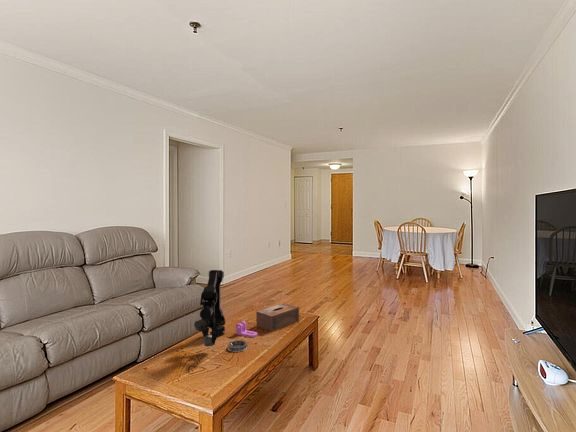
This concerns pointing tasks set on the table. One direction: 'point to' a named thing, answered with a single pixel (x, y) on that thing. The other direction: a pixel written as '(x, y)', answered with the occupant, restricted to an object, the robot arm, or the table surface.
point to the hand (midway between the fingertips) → (209, 341)
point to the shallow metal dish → (237, 346)
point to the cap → (208, 340)
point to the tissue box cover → (277, 316)
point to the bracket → (244, 330)
